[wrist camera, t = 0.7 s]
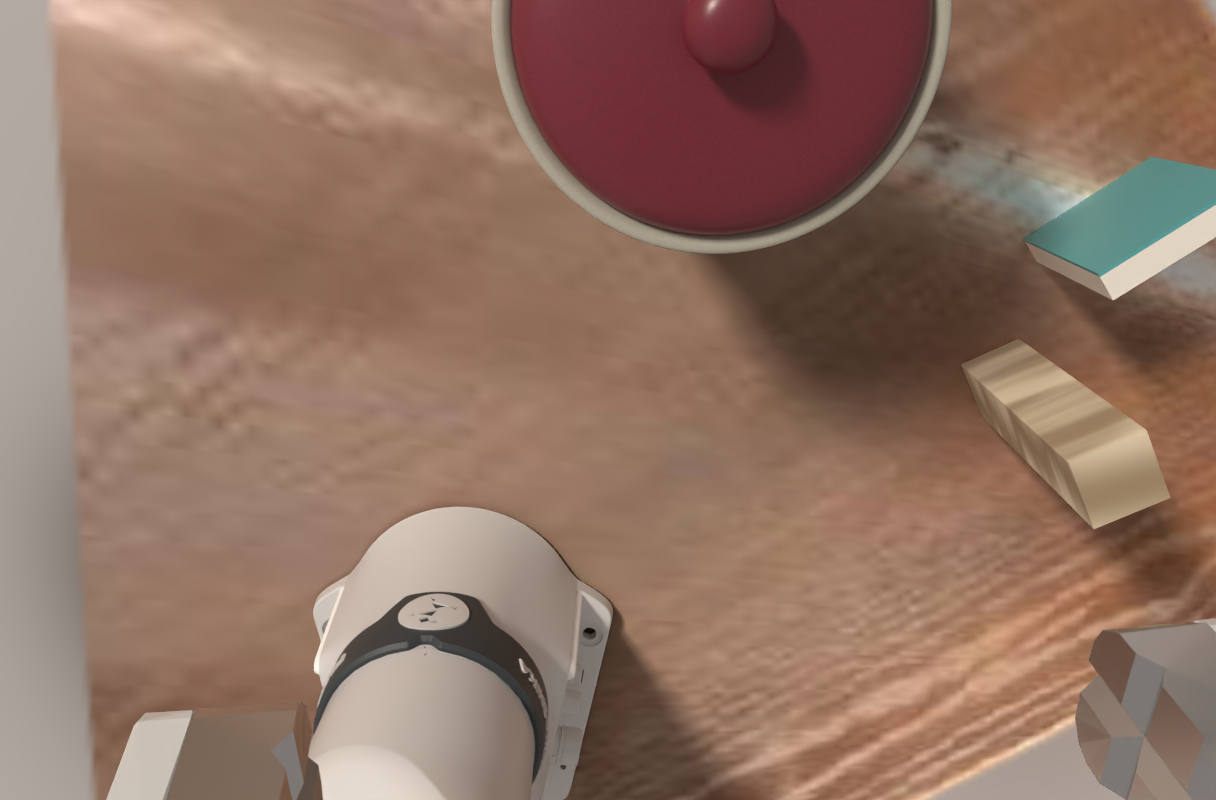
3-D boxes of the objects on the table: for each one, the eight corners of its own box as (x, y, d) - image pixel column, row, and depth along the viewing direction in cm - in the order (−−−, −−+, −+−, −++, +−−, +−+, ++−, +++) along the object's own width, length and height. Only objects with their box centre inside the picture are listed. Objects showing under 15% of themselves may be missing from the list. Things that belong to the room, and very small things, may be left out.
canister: (455, 1, 58) (370, -23, 38) (729, -236, 54) (796, -403, 34) (660, 265, 62) (682, 369, 42) (926, 61, 59) (1089, 68, 38)
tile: (1164, 180, 60) (1267, 205, 51) (1036, 261, 62) (1113, 300, 52) (1151, 156, 60) (1252, 177, 50) (1023, 238, 61) (1098, 273, 52)
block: (1038, 391, 64) (1170, 497, 49) (981, 416, 65) (1093, 529, 50) (1018, 338, 63) (1146, 430, 48) (960, 364, 64) (1068, 463, 49)
